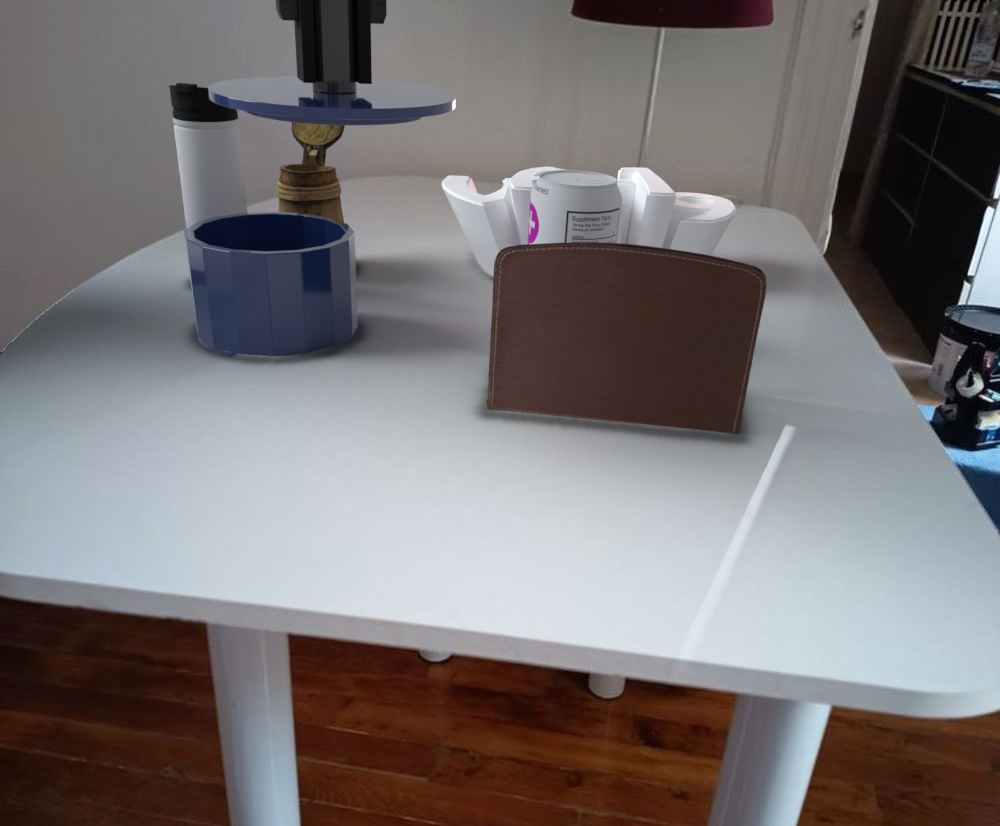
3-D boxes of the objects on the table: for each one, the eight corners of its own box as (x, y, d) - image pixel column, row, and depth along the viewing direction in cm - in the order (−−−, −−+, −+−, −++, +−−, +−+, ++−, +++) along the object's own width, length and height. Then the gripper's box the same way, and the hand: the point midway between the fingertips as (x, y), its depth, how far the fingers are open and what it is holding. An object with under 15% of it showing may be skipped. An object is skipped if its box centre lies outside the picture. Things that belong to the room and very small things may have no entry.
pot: (163, 341, 83) (148, 236, 78) (264, 298, 95) (255, 205, 90) (296, 373, 78) (288, 263, 73) (385, 324, 90) (383, 226, 85)
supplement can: (512, 346, 86) (521, 181, 79) (535, 319, 93) (545, 165, 85) (596, 359, 84) (614, 191, 77) (613, 331, 91) (631, 174, 83)
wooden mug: (366, 250, 112) (362, 91, 103) (345, 283, 101) (338, 106, 92) (294, 246, 112) (283, 87, 103) (265, 278, 101) (250, 101, 92)
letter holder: (738, 440, 71) (774, 259, 64) (485, 415, 73) (492, 236, 65) (728, 390, 79) (759, 225, 72) (502, 368, 81) (510, 206, 74)
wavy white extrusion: (431, 279, 103) (432, 182, 98) (444, 242, 117) (445, 155, 112) (741, 297, 103) (759, 200, 97) (716, 257, 117) (731, 171, 112)
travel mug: (180, 289, 96) (152, 81, 86) (212, 272, 102) (189, 75, 92) (235, 296, 95) (213, 86, 85) (263, 278, 101) (246, 80, 91)
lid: (155, 109, 56) (135, -47, 52) (307, 88, 68) (301, -39, 64) (373, 140, 50) (370, -31, 46) (495, 112, 63) (502, -26, 59)
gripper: (152, -485, 41) (209, 86, 53) (487, -418, 46) (470, 90, 58) (148, -430, 47) (200, 71, 59) (444, -377, 52) (437, 76, 64)
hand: (334, 79), depth 58 cm, fingers closed on lid, 3 cm apart
